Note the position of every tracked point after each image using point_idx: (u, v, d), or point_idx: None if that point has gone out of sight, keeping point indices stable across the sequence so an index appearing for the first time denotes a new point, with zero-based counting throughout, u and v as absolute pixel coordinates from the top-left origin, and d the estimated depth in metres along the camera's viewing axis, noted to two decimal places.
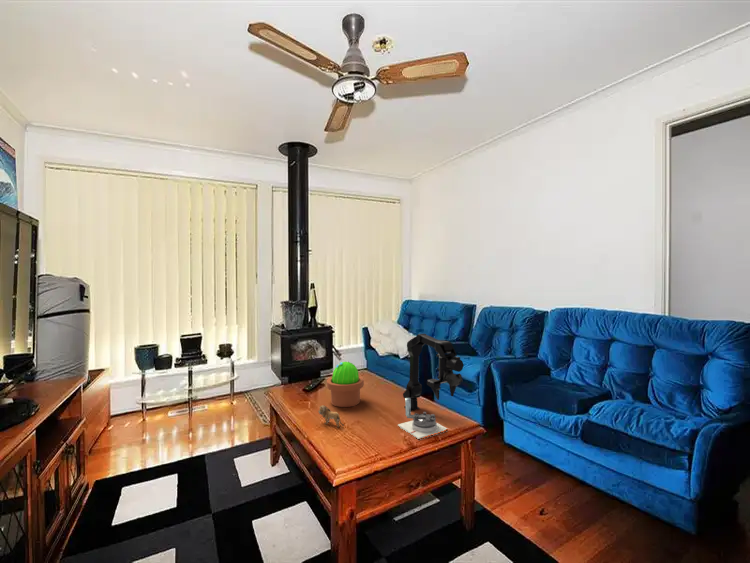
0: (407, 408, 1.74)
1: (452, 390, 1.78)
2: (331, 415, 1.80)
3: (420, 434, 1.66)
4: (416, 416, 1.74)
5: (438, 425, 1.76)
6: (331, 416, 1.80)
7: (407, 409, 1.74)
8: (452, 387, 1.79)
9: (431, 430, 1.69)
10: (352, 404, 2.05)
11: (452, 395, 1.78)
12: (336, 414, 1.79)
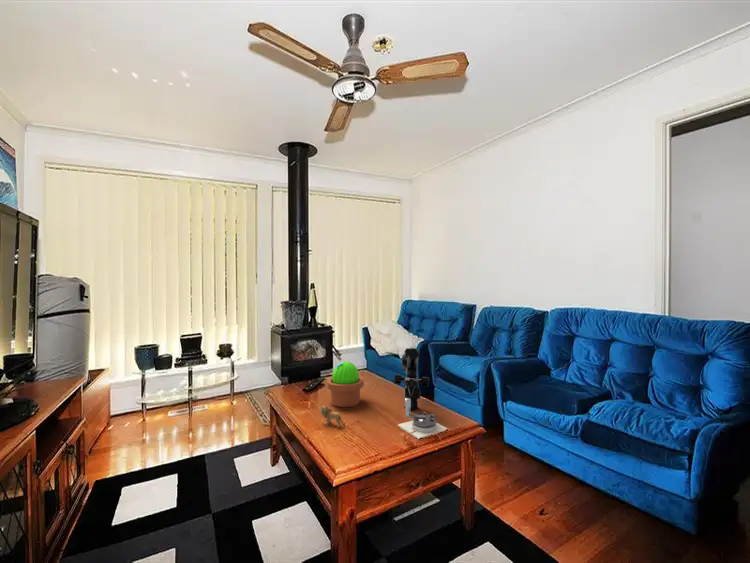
0: (407, 408, 1.74)
1: (410, 390, 1.86)
2: (332, 415, 1.80)
3: (420, 434, 1.66)
4: (416, 416, 1.74)
5: (438, 425, 1.76)
6: (332, 416, 1.80)
7: (407, 409, 1.74)
8: None
9: (431, 430, 1.69)
10: (352, 404, 2.05)
11: None
12: (338, 414, 1.78)
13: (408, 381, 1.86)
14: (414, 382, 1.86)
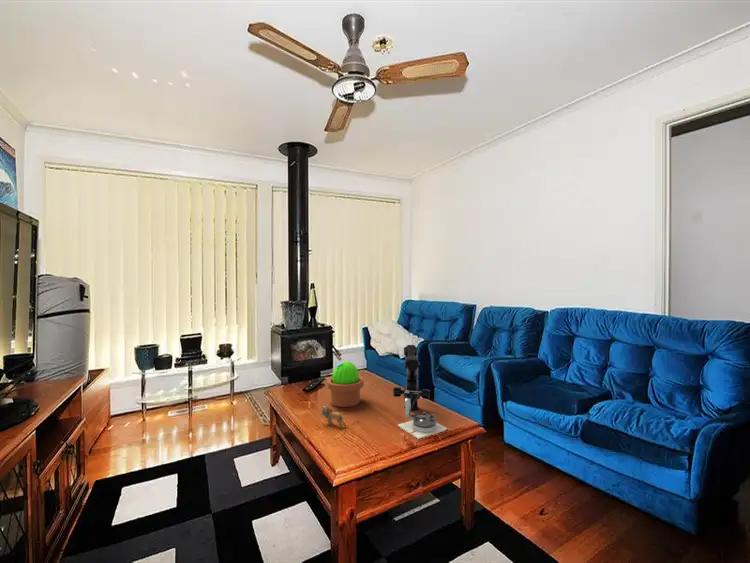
0: (407, 408, 1.74)
1: None
2: (334, 416, 1.79)
3: (420, 434, 1.66)
4: (416, 416, 1.74)
5: (438, 425, 1.76)
6: (334, 417, 1.79)
7: (407, 409, 1.74)
8: None
9: (431, 430, 1.69)
10: (352, 404, 2.05)
11: None
12: (339, 415, 1.78)
13: (408, 394, 1.79)
14: (414, 395, 1.78)
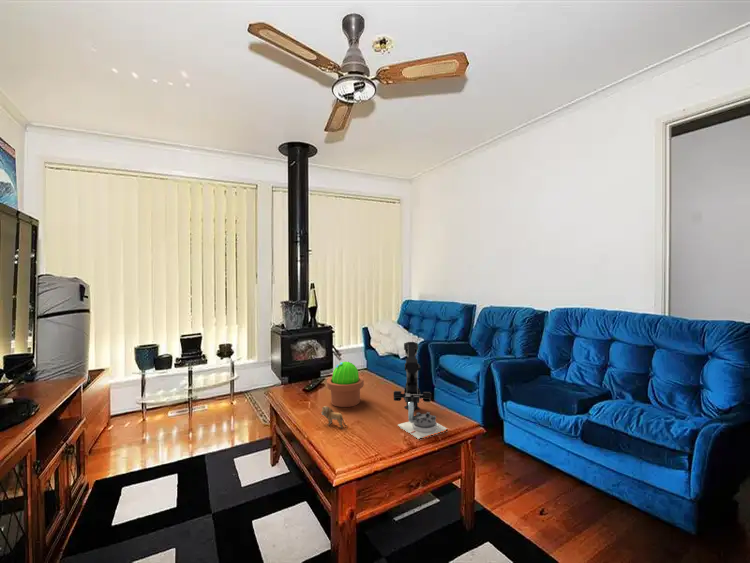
0: (412, 412, 1.69)
1: None
2: (334, 416, 1.79)
3: (420, 434, 1.66)
4: (419, 418, 1.72)
5: (438, 425, 1.76)
6: (334, 417, 1.79)
7: (412, 413, 1.69)
8: None
9: (431, 430, 1.69)
10: (352, 404, 2.05)
11: None
12: (339, 415, 1.78)
13: (409, 397, 1.74)
14: (415, 398, 1.74)
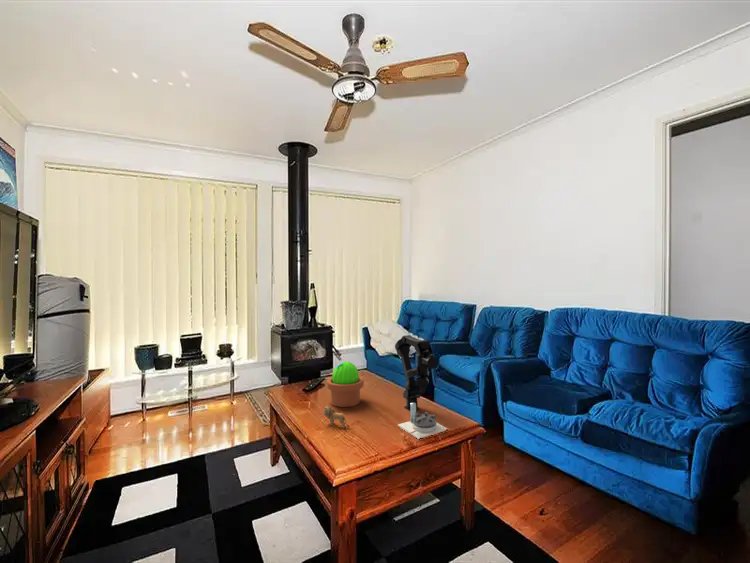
0: (414, 413, 1.68)
1: None
2: (336, 416, 1.79)
3: (420, 434, 1.66)
4: (420, 418, 1.71)
5: (438, 425, 1.76)
6: (336, 417, 1.79)
7: (414, 414, 1.68)
8: None
9: (431, 430, 1.69)
10: (352, 404, 2.05)
11: None
12: (341, 415, 1.77)
13: None
14: None
